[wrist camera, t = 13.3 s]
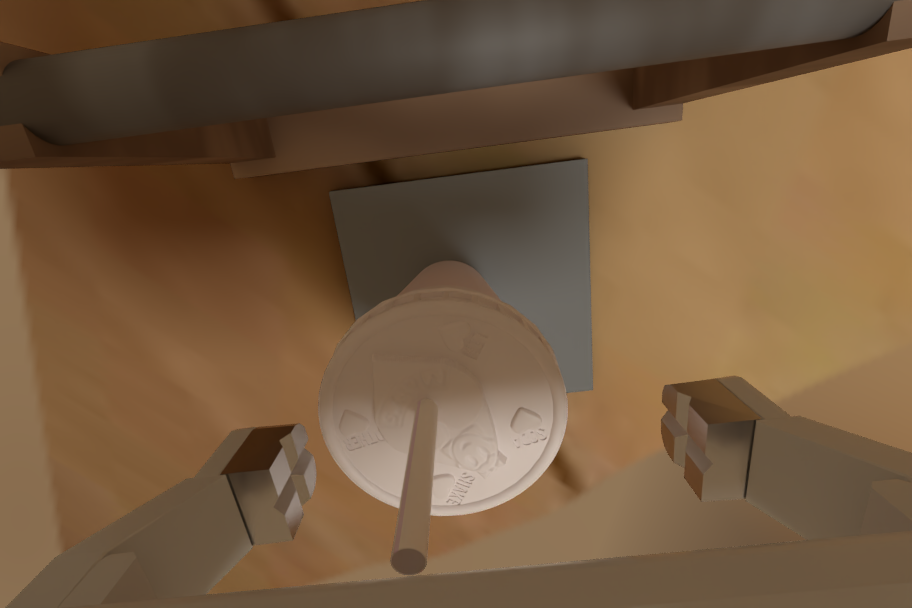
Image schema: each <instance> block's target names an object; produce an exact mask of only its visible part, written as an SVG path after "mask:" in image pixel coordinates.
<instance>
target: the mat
mask: <svg viewBox="0 0 912 608" xmlns="http://www.w3.org/2000/svg"><path fill="white" fill-rule="evenodd" d="M329 196H330V201H331V205H332V210H333V215H334V219H335V224H336V229H337V234H338V238H339V243H340V248H341V252H342V257H343V262H344V267H345V271H346V276H347V281H348V286H349V290H350V295H351V300H352V304H353V309H354V314H355V319H356V320H357V319H358V318H360V317H361V316H363V315H364V314H365V313H367V312H368V311H370V310H371V309H372V308H374V307H375V306H377V305H378V304H380V303H381V302H382V301H385V300H388V299H390V298H393V297H396V296H397V295H398V294H399V293H400V292H401V291H402V290H403V289H404V288H405V287H406V286H407V285H408V284H409V283H410V282H411V281H412V280H413V279H414V278H415V277H416V276H417V275H418V274H419V273H420V272H421V271H422V270H424V269H425V268H426V267H428V266H430V265H431V264H434V263H437V262H440V261H450V260H451V261H458V262H462V263H465V264H467V265H469V266H471V267H472V268H474V269H475V270H476V271H477V272H478V273H479V274H480V275H481V276H482V277H483V278H484V280H485V281H486V282H487V284H488V285H489V286H490V287H491V289H492V290H493V291H494V292H495V294H496V295H497V296H498V297H499V299H500V300H501V301H502V302H504V303H507V304H509V305H511V306H512V307H514V308H515V309H516V310H517V311H519V312H520V313H521V314H522V315H523V316H525V317H526V318H527V319H528V320H530V321H531V322H532V323H533V324H535V325H536V326H537V328H538V329H539V331H540V332H541V334H542V335H543V336H544V338H545V339H546V341H547V342H548V343H549V345H550V346H551V348H552V349H553V351H554V354H555V357H556V360H557V363H558V366H559V369H560V372H561V375H562V378H563V381H564V385H565V389H566V393H570V392H579V391H589V390H593V369H592V327H591V285H590V243H589V201H588V159H577V160H570V161H562V162H554V163H546V164H538V165H531V166H523V167H515V168H507V169H499V170H492V171H484V172H476V173H468V174H461V175H453V176H445V177H437V178H429V179H422V180H414V181H406V182H398V183H390V184H383V185H375V186H367V187H359V188H352V189H344V190H336V191H330V192H329Z"/></svg>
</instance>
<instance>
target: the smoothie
mask: <svg viewBox="0 0 912 608" xmlns="http://www.w3.org/2000/svg"><path fill="white" fill-rule="evenodd" d="M318 414H319V422H320V427H321V431H322V435H323V438H324V440H325V443H326V445H327V447H328V449H329V451H330V453H331V455H332V457H333V458H334V460H335V462H336V463H337V464H338V466H339V467H340V468H341V470H342V471H343V472H344V473H345V474H346V475H347V476H348V477H349V478H350V479H351V480H352V481H353V482H354V483H355V484H356V485H357V486H358V487H360V488H361V489H363V490H364V491H365V492H367V493H368V494H370V495H371V496H373V497H375V498H376V499H378V500H380V501H382V502H384V503H386V504H389V505H391V506H394V507H396V508H399V512H398V518H397V524H396V530H395V536H394V542H393V548H392V554H391V560H390V562H391V566H392V567H393V569H394V570H396V571H397V572H399V573H400V574H404V575H415V574H418V573H420V572H422V571H423V570H424V569H425V567H426V565H427V554H428V541H429V527H430V515H435V516H454V515H465V514H470V513H475V512H479V511H484V510H486V509H489V508H492V507H495V506H497V505H500V504H502V503H505V502H506V501H508V500H510V499H512V498H514V497H515V496H517V495H518V494H520V493H522V492H523V491H524V490H526V489H527V488H528V487H529V486H531V485H532V484H533V483H534V482H535V481H536V480H537V479H538V478H539V477H540V476H541V475H542V474H543V473H544V472H545V470H546V469H547V468H548V466H549V465H550V464H551V462H552V461H553V459H554V457H555V455H556V454H557V452H558V450H559V447H560V445H561V443H562V440H563V437H564V433H565V429H566V424H567V415H568V403H567V394H566V389H565V385H564V381H563V378H562V375H561V372H560V369H559V366H558V363H557V360H556V357H555V354H554V351H553V349H552V348H551V346H550V345H549V343H548V342H547V341H546V339H545V338H544V336H543V335H542V334H541V332H540V331H539V329H538V328H537V326H536V325H535V324H533V323H532V322H531V321H530V320H528V319H527V318H526V317H525V316H523V315H522V314H521V313H520V312H519V311H517V310H516V309H515V308H514V307H512V306H511V305H509V304H507V303H504V302H502V301H501V300H500V299H499V297H498V296H497V295H496V294H495V292H494V291H493V290H492V289H491V287H490V286H489V285H488V284H487V282H486V281H485V280H484V278H483V277H482V276H481V275H480V274H479V273H478V272H477V271H476V270H475V269H474V268H472V267H471V266H469V265H467V264H465V263H462V262H458V261H451V260H450V261H440V262H437V263H434V264H431V265H430V266H428V267H426V268H425V269H424V270H422V271H421V272H420V273H419V274H418V275H417V276H416V277H415V278H414V279H413V280H412V281H411V282H410V283H409V284H408V285H407V286H406V287H405V288H404V289H403V290H402V291H401V292H400V293H399V294H398V295H397V296H396V297H393V298H390V299H388V300H385V301H382V302H381V303H380V304H378V305H377V306H375V307H374V308H372V309H371V310H370V311H368V312H367V313H365V314H364V315H363V316H361V317H360V318H358V319H357V320H356V321H355V322H354V324H353V325H352V326H351V327H350V329H349V330H348V331H347V332H346V334H345V335H344V336H343V337H342V339H341V340H340V341H339V342H338V344H337V347H336V349H335V352H334V354H333V357H332V358H331V360H330V362H329V364H328V366H327V368H326V370H325V373H324V376H323V379H322V382H321V386H320V391H319V400H318Z"/></svg>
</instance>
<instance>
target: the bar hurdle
mask: <svg viewBox="0 0 912 608" xmlns="http://www.w3.org/2000/svg"><path fill="white" fill-rule="evenodd" d="M909 48H912V0H424V1H417V2H410V3H403V4H396V5H389V6H383V7H376V8H369V9H362V10H355V11H348V12H341V13H335V14H328V15H321V16H314V17H307V18H300V19H294V20H287V21H280V22H273V23H266V24H259V25H252V26H246V27H239V28H232V29H225V30H218V31H211V32H205V33H198V34H191V35H184V36H177V37H170V38H163V39H157V40H150V41H143V42H136V43H129V44H122V45H116V46H109V47H102V48H95V49H88V50H81V51H74V52H68V53H61V54H54V55H51V54H47V53H43V52H39V51H35V50H31V49H27V48H23V47H19V46H15V45H11V44H7V43H3V42H0V169H8V168H50V167H93V166H135V165H177V164H220V163H230V165H231V169H232V172H233V176H234V179H238V178H249V177H256V176H264V175H272V174H279V173H287V172H295V171H302V170H310V169H317V168H325V167H333V166H340V165H348V164H356V163H363V162H371V161H379V160H386V159H394V158H402V157H409V156H417V155H424V154H432V153H440V152H447V151H455V150H463V149H470V148H478V147H486V146H493V145H501V144H509V143H516V142H524V141H531V140H539V139H547V138H554V137H562V136H570V135H577V134H585V133H593V132H600V131H608V130H616V129H623V128H631V127H638V126H646V125H654V124H661V123H669V122H675V121H681V120H682V113H683V103H686V102H690V101H694V100H698V99H702V98H707V97H711V96H715V95H719V94H723V93H727V92H731V91H735V90H740V89H744V88H748V87H752V86H756V85H760V84H764V83H768V82H773V81H777V80H781V79H785V78H789V77H793V76H797V75H801V74H806V73H810V72H814V71H818V70H822V69H826V68H830V67H834V66H839V65H843V64H847V63H851V62H855V61H859V60H863V59H868V58H872V57H876V56H880V55H884V54H888V53H892V52H896V51H901V50H905V49H909Z"/></svg>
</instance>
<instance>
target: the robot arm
mask: <svg viewBox="0 0 912 608" xmlns="http://www.w3.org/2000/svg"><path fill="white" fill-rule="evenodd" d="M662 403H663V404H664V405H665V406H666V408H667V409H668V411H667V412H666V414H665V415H664V416H663V418H662V419H661V434H662V439H663V443H664V446H665V449H666V451H667V453H668V455H669V456H670V458H671V459H672V461H673V462H674V463H676V464H678V465H679V466H681V467H683V468H685V472H684V478H685V479H686V481H687V482H688V484H689V485H690V486H691V488H692V489H693V491H694V492H695V494H696V495H697V496H698V498H699V499H700V500H701V502H704V501H719V500H734V499H746V501H747V502H749V503H750V504H752V505H753V506H755V507H756V508H758V509H759V510H761V511H763V512H764V513H766V514H767V515H769V516H770V517H772V518H774V519H775V520H777V521H778V522H780V523H781V524H783V525H785V526H786V527H788V528H789V529H791V530H792V531H794V532H796V533H797V534H799V535H800V536H802V537H803V538H805V539H806V540H803V541H793V542H782V543H772V544H760V545H749V546H738V547H727V548H715V549H705V550H693V551H682V552H671V553H660V554H650V555H638V556H626V557H616V558H604V559H593V560H582V561H571V562H560V563H549V564H538V565H528V566H516V567H506V568H495V569H484V570H473V571H463V572H452V573H441V574H429V575H418V576H407V577H396V578H386V579H375V580H363V581H352V582H341V583H330V584H319V585H308V586H296V587H285V588H274V589H263V590H252V591H241V592H230V593H219V594H208V595H206V594H207V593H208V592H209V591H210V590H211V589H212V588H213V587H214V586H215V585H216V584H217V583H218V582H219V581H220V580H221V579H222V578H223V577H224V576H225V575H226V574H227V573H228V572H229V571H230V570H231V569H232V568H233V567H234V566H235V565H236V564H237V563H238V562H239V561H240V560H241V559H242V558H243V557H244V556H245V555H246V554H247V553H248V552H249V551H250V550H251V549H252V548H253V547H252V546H253V545H261V544H269V543H277V542H285V541H293V539H294V537H295V534H296V532H297V530H298V527H299V525H300V523H301V520H302V518H303V515H304V513H303V510H302V507H301V506H302V505H303V504H305V503H306V502H307V501H308V500H309V499H311V496H312V494H313V491H314V488H315V482H316V465H315V461H314V457H313V455H312V454H311V453H310V452H308V451H307V450H306V449H305V448H304V447H305V445H306V443H307V441H308V437H307V433H306V430H305V427H304V426H302V425H301V424H300V423H298V424H287V425H275V426H263V427H251V428H243V429H237V430H234V431H231V432H230V434H229V435H228V436H227V437H226V439H225V440H224V441H223V442H222V444H221V445H220V446H219V447H218V448H217V450H216V451H215V452H214V453H213V455H212V456H211V457H210V458H209V460H208V461H207V462H206V463H205V464H204V466H203V467H202V468H201V469H200V471H199V472H198V473H197V474H196V476H195V477H194V478H188V479H185V480H183V481H182V482H180V483H178V484H177V485H175V486H173V487H172V488H170V489H168V490H167V491H165V492H163V493H162V494H160V495H158V496H157V497H155V498H153V499H152V500H150V501H148V502H147V503H145V504H143V505H142V506H140V507H138V508H137V509H135V510H133V511H132V512H130V513H128V514H127V515H125V516H123V517H122V518H120V519H118V520H117V521H115V522H113V523H112V524H110V525H108V526H107V527H105V528H103V529H102V530H100V531H98V532H97V533H95V534H93V535H92V536H90V537H88V538H87V539H85V540H83V541H82V542H80V543H78V544H77V545H75V546H73V547H72V548H70V549H68V550H67V551H65V552H63V553H62V554H60V555H58V556H57V557H55V558H54V559H53V560H52V561H51V562H50V563H49V564H48V565H47V566H46V567H45V568H44V569H43V570H42V571H41V572H40V573H39V574H38V575H37V576H36V577H35V578H34V579H33V580H32V581H31V582H30V583H29V584H28V585H27V586H26V587H25V588H24V589H23V590H22V591H21V592H20V594H18V595H17V596H16V597H15V599H14V600H13V601H11V602H10V603H9V604H8V605H7V607H6V608H912V453H910V452H907V451H904V450H901V449H898V448H895V447H892V446H889V445H886V444H883V443H880V442H877V441H874V440H871V439H868V438H865V437H862V436H859V435H856V434H853V433H850V432H847V431H843V430H841V429H838V428H834V427H832V426H828V425H825V424H822V423H819V422H816V421H813V420H810V419H807V418H804V417H801V416H793V417H791V416H790V415H789V414H787V413H786V412H785V411H783V410H782V409H781V408H780V407H779V406H777V405H776V404H775V403H773V402H772V401H771V400H770V399H768V398H767V397H766V396H765V395H763V394H762V393H761V392H759V391H758V390H757V389H756V388H754V387H753V386H752V385H750V384H749V383H748V382H747V381H745V380H744V379H743V378H742V377H738V376H729V377H722V378H715V379H709V380H701V381H694V382H686V383H678V384H671V385H665V386H664V389H663V392H662Z"/></svg>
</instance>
